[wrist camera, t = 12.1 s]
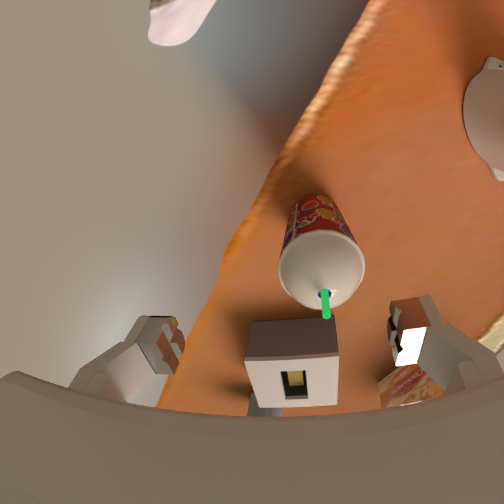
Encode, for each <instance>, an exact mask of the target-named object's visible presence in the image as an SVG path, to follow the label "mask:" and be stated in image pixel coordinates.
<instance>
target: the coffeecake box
mask: <svg viewBox="0 0 504 504" xmlns="http://www.w3.org/2000/svg"><path fill="white" fill-rule="evenodd" d="M378 385H379V391H380V397H381V404H382V408H387V407H393V406H399V405H404V404H409V403H414V402H419V401H424V400H428V399H433V398H437V397H441V396H443V395H444V393H445V391H444V390H443V389H442V388H441V387H440V386H439V385H438V384H437V383H436V382H435V381H434V380H433V379H432V378H431V377H430V376H429V375H428V374H427V373H426V372H425V371H424V370H423V369H422V368H421V367H419V366H418V365H417V363H414V364H408V365H401V366H399V367H398V368H396V369H395V370H394V371H393V372H391V373H390V374H389V375H387V376H386V377H385V378H384V379H382V380H381V381H379V382H378Z"/></svg>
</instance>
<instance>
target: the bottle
mask: <svg viewBox="0 0 504 504" xmlns="http://www.w3.org/2000/svg"><path fill="white" fill-rule="evenodd" d="M280 413H281V408H260V407H259V404H258V402H257V399H256V396H255V393H254V391H253V392H252V393H251V396H250V402H249V407H248V413H247V416H252V417H280Z"/></svg>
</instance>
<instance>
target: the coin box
mask: <svg viewBox="0 0 504 504" xmlns="http://www.w3.org/2000/svg"><path fill="white" fill-rule="evenodd" d="M244 363H245V366H246V369H247V372H248V375H249V378H250V381H251V384H252V387H253V390H254V393H255V396H256V399H257V402H258V404H259V407H260V408H281V407H309V406H325V405H337V391H338V368H339V352H338V343H337V334H336V325H335V317H334V316H331V317H330V318H329V319H324V318H323V317H313V318H300V319H286V320H270V321H252V324H251V329H250V334H249V339H248V344H247V349H246V354H245V358H244ZM302 370H304V385H299V386H290V385H289V380H288V374H287V371H302Z"/></svg>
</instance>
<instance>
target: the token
mask: <svg viewBox="0 0 504 504" xmlns="http://www.w3.org/2000/svg"><path fill="white" fill-rule="evenodd" d="M287 374H288V380H289V385H290V386H299V385H304V370H302V371H287Z"/></svg>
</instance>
